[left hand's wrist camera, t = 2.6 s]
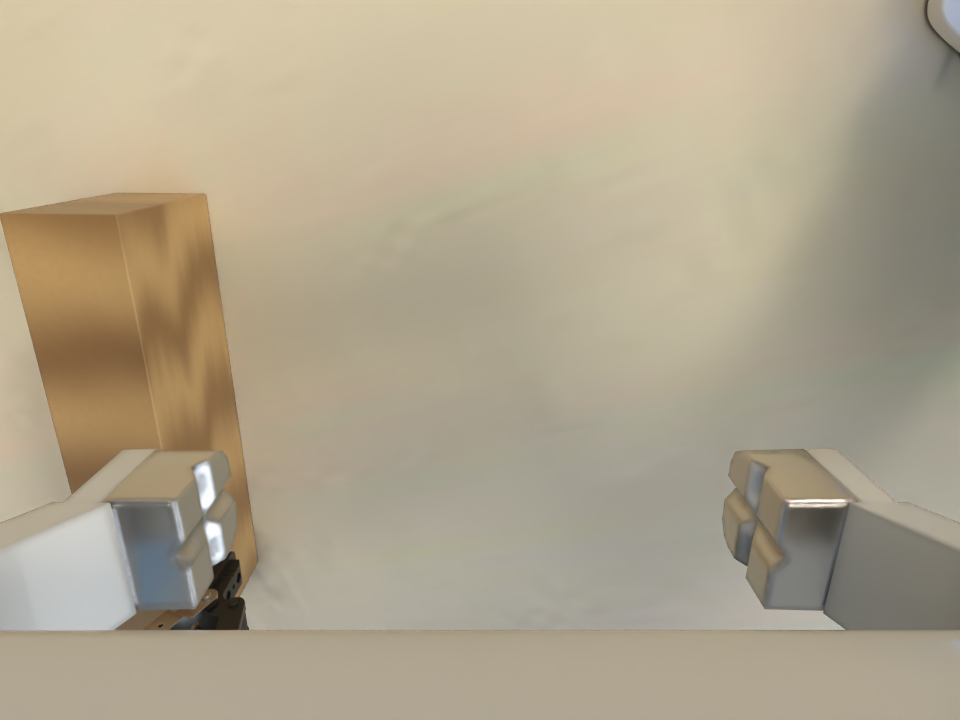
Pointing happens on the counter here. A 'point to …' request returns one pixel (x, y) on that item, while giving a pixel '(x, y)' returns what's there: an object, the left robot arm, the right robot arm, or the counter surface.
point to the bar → (131, 336)
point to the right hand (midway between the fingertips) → (185, 562)
